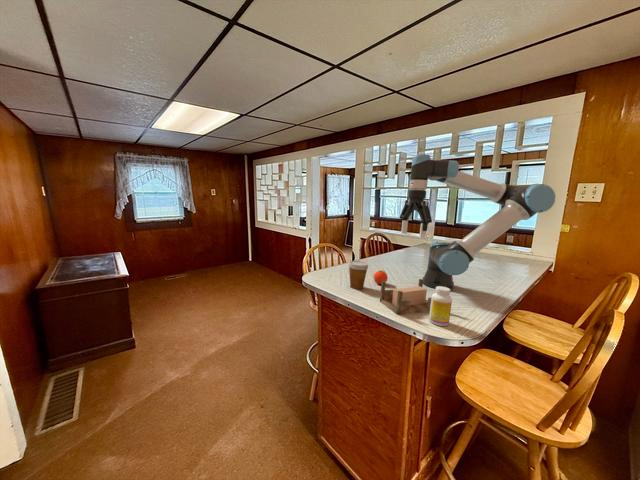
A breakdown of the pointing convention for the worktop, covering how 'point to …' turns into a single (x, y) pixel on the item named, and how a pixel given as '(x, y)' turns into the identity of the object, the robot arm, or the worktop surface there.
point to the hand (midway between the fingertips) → (412, 235)
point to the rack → (402, 302)
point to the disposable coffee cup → (357, 274)
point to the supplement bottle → (440, 306)
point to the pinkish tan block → (411, 295)
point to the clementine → (380, 276)
